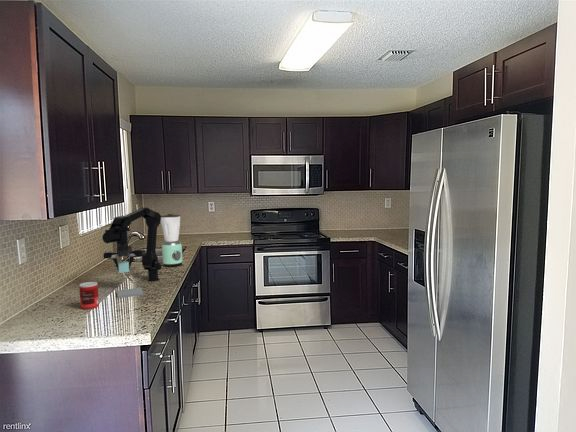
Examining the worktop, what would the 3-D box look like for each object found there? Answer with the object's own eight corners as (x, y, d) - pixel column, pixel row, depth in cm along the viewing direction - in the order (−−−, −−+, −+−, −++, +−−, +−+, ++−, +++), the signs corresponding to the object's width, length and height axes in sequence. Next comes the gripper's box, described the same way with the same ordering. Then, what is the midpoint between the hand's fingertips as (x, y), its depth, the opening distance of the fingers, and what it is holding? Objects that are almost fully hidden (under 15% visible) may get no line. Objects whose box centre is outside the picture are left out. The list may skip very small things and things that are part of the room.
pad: (117, 292, 213) (117, 290, 213) (141, 289, 218) (141, 287, 217) (117, 298, 202) (117, 296, 202) (143, 294, 207) (143, 292, 207)
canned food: (94, 303, 194) (92, 280, 193) (102, 306, 189) (100, 283, 188) (77, 307, 188) (75, 284, 187) (85, 310, 183) (83, 286, 182)
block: (118, 271, 218) (118, 261, 217) (128, 270, 220) (128, 260, 219) (119, 272, 213) (118, 263, 213) (129, 271, 215) (128, 262, 215)
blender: (188, 265, 276) (185, 214, 273) (169, 268, 267) (166, 215, 264) (174, 261, 290) (171, 212, 287) (156, 264, 281) (153, 214, 278)
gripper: (102, 244, 204) (104, 274, 205) (141, 240, 211) (143, 270, 213) (102, 241, 214) (104, 270, 216) (140, 238, 222) (142, 266, 223)
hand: (123, 269), depth 216 cm, fingers closed on block, 5 cm apart
